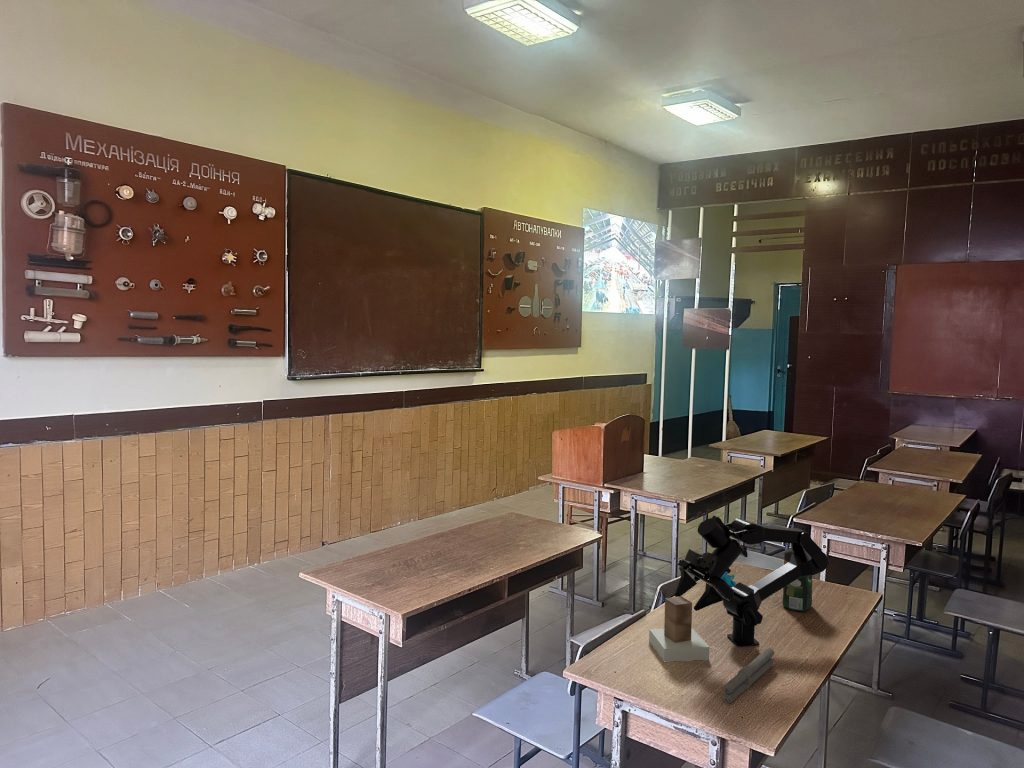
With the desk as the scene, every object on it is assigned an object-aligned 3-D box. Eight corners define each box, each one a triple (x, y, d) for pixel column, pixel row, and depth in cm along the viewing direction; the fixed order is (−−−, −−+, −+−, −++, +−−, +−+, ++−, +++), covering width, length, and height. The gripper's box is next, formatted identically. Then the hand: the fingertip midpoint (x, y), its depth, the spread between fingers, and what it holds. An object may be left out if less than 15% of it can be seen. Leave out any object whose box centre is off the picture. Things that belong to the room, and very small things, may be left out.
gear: (721, 591, 223) (707, 563, 229) (710, 599, 227) (696, 572, 233) (744, 589, 229) (729, 562, 235) (732, 598, 233) (718, 571, 239)
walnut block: (680, 632, 187) (681, 596, 186) (691, 640, 182) (692, 602, 182) (664, 635, 185) (665, 598, 185) (674, 642, 180) (675, 605, 180)
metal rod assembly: (764, 664, 177) (765, 645, 177) (775, 668, 175) (776, 648, 175) (720, 703, 158) (721, 682, 158) (732, 707, 156) (732, 686, 156)
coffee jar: (788, 599, 222) (790, 541, 221) (814, 605, 217) (816, 546, 216) (778, 608, 214) (781, 548, 213) (805, 614, 209) (808, 554, 208)
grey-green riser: (708, 662, 179) (709, 646, 178) (663, 664, 177) (664, 648, 177) (691, 641, 191) (691, 627, 190) (648, 643, 189) (649, 629, 189)
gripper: (684, 529, 193) (648, 572, 190) (725, 549, 175) (686, 597, 173) (708, 555, 196) (673, 597, 193) (750, 577, 178) (712, 624, 176)
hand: (685, 603), depth 184 cm, fingers open, 9 cm apart
